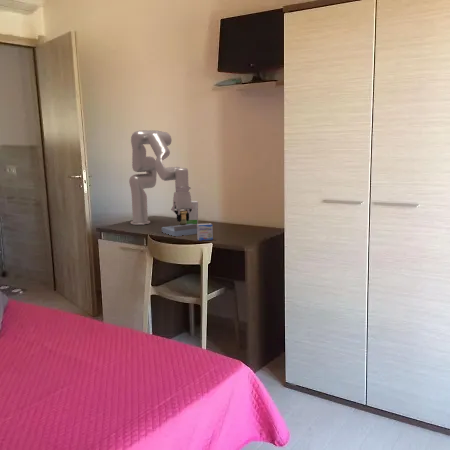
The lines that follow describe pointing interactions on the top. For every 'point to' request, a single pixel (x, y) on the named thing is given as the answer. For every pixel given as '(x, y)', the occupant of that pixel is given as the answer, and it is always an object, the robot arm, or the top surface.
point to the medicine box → (204, 231)
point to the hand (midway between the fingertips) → (183, 220)
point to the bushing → (183, 217)
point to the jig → (180, 229)
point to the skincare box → (193, 213)
